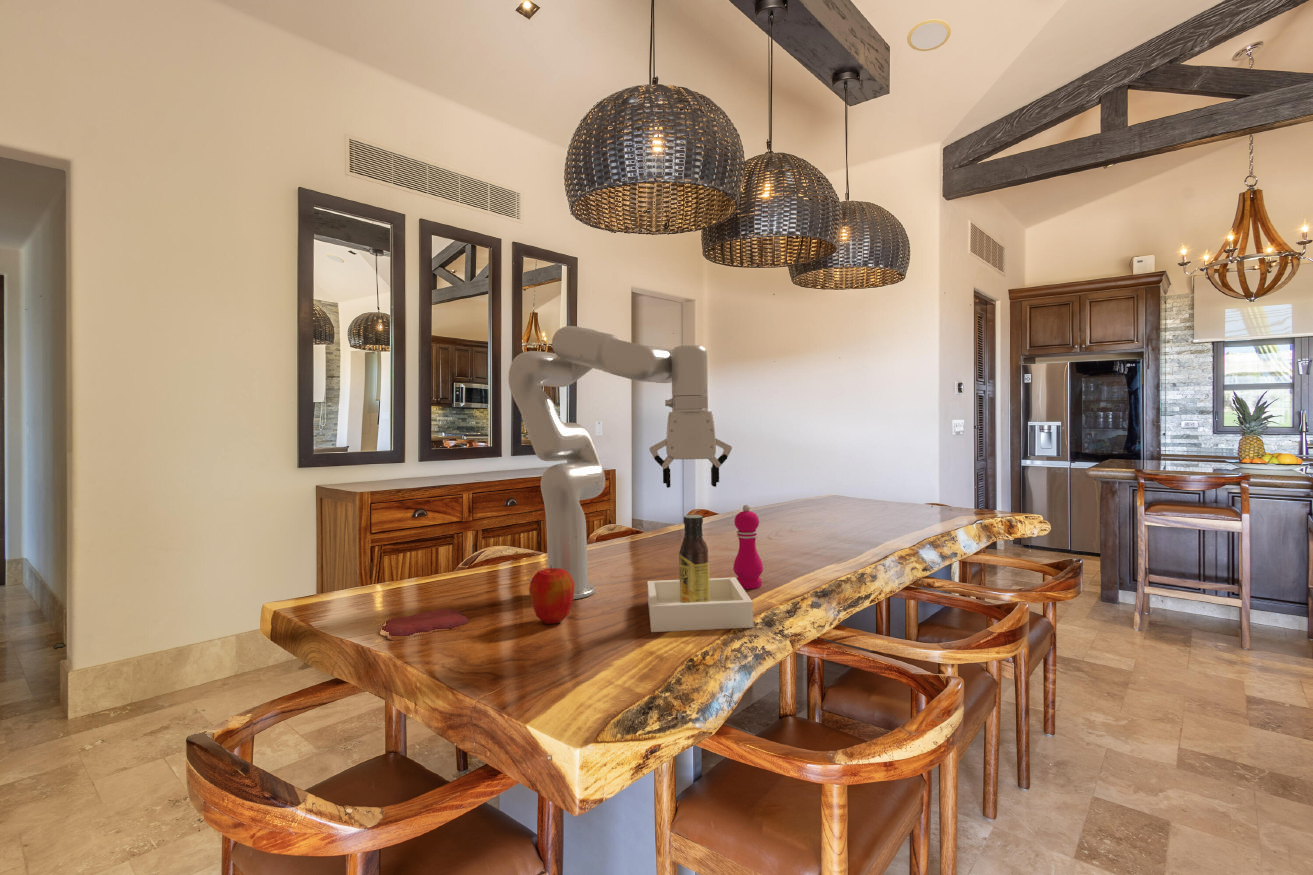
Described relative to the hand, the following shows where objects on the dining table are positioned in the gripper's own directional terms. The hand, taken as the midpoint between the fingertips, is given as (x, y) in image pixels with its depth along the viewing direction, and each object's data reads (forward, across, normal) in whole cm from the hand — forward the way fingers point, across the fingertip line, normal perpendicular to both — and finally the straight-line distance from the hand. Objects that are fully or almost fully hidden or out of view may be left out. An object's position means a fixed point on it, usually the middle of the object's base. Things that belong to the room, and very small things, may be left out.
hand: (691, 486), depth 130 cm
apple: (+28, -29, -2) cm, 40 cm away
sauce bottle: (+26, 0, 0) cm, 26 cm away
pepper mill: (+27, +16, +20) cm, 37 cm away
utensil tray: (+27, +1, -1) cm, 27 cm away
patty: (+29, -56, 0) cm, 63 cm away
